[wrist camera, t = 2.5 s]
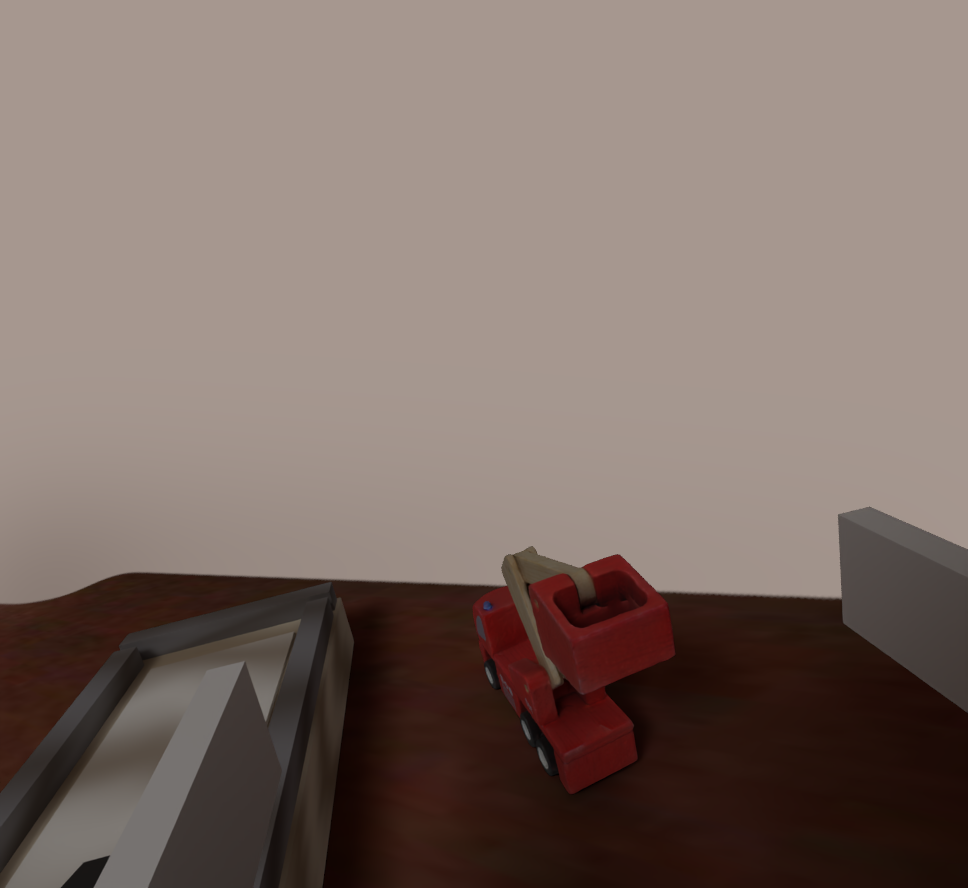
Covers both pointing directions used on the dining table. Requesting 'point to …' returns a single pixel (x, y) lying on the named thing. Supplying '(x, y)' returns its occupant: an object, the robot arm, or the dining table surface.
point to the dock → (154, 719)
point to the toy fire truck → (572, 656)
